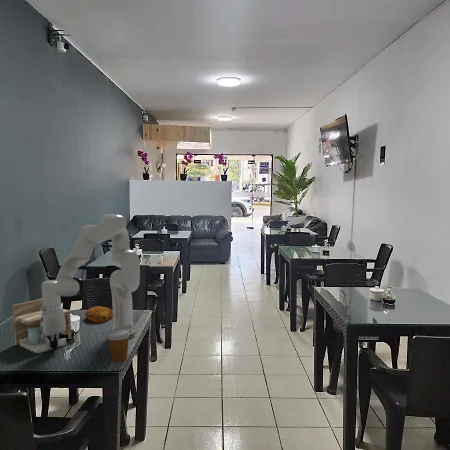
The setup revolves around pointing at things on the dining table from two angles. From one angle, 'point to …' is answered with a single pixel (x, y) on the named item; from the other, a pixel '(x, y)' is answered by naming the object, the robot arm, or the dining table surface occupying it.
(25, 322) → the wooden stand
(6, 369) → the dining table surface
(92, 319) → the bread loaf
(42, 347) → the tray
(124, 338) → the disposable coffee cup
